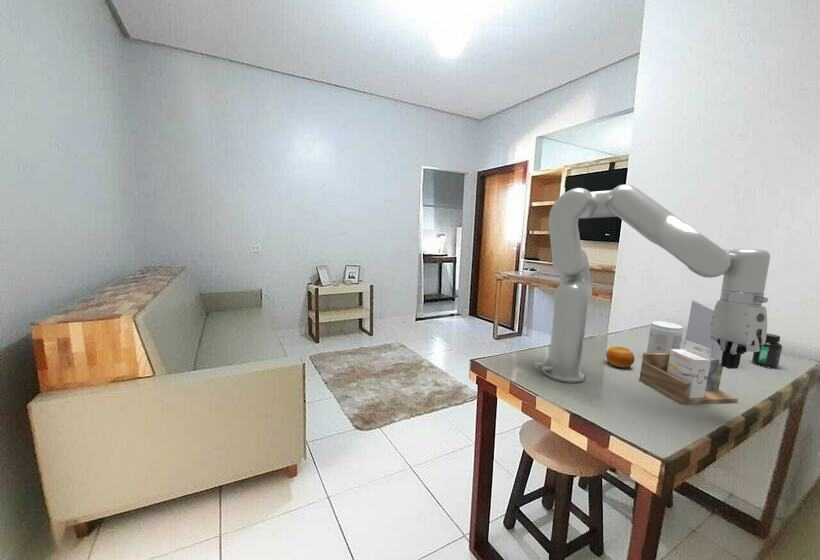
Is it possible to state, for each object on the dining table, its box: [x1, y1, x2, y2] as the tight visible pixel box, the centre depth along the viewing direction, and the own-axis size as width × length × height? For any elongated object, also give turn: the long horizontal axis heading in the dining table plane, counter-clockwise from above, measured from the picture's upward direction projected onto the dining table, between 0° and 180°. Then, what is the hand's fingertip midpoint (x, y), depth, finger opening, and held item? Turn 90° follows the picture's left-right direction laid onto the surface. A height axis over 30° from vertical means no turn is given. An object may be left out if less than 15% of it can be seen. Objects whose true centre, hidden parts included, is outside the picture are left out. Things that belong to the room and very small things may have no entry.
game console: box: [685, 300, 723, 362], centre depth 132 cm, size 6×27×20 cm, turn 157°
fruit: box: [605, 346, 635, 368], centre depth 118 cm, size 8×8×8 cm
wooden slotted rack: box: [639, 352, 739, 405], centre depth 100 cm, size 18×15×11 cm
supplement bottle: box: [751, 332, 783, 369], centre depth 123 cm, size 7×7×12 cm
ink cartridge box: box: [667, 339, 712, 398], centre depth 96 cm, size 9×5×15 cm, turn 5°
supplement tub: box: [646, 320, 684, 353], centre depth 122 cm, size 10×10×15 cm
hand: (729, 367), depth 85 cm, fingers closed
